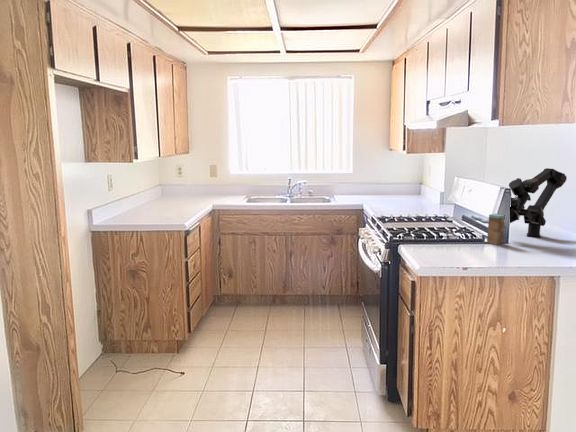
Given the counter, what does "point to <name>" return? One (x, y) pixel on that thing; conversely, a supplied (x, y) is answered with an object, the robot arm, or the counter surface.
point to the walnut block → (495, 229)
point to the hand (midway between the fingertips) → (503, 225)
